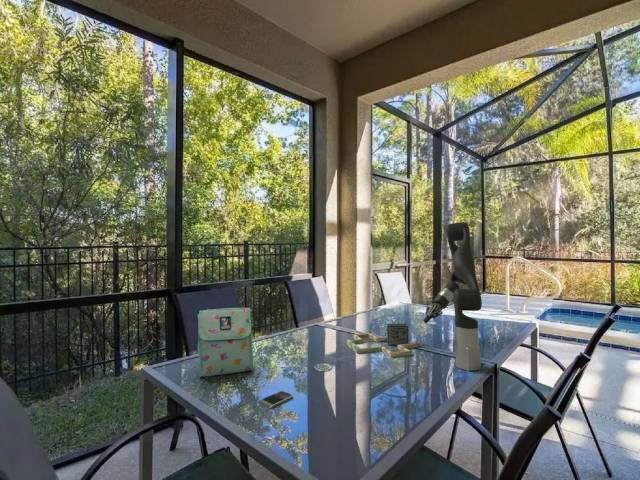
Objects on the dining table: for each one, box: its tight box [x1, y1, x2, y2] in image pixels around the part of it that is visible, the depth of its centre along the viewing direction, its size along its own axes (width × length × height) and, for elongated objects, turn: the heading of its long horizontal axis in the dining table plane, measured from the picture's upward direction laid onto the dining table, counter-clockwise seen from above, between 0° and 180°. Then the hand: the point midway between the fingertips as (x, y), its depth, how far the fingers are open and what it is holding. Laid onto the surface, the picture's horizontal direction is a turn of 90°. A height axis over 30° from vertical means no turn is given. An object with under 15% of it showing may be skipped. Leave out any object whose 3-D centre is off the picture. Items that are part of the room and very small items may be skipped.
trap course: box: [345, 332, 419, 358], centre depth 181 cm, size 37×33×3 cm
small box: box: [386, 323, 409, 347], centre depth 183 cm, size 11×6×10 cm, turn 84°
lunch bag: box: [197, 307, 254, 378], centre depth 149 cm, size 23×16×27 cm
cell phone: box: [258, 391, 294, 410], centre depth 118 cm, size 6×11×1 cm, turn 138°
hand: (424, 322), depth 187 cm, fingers closed
